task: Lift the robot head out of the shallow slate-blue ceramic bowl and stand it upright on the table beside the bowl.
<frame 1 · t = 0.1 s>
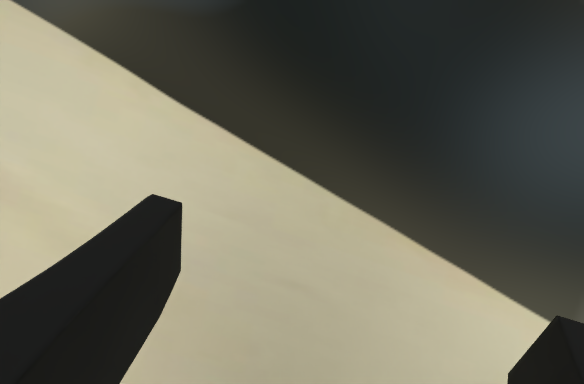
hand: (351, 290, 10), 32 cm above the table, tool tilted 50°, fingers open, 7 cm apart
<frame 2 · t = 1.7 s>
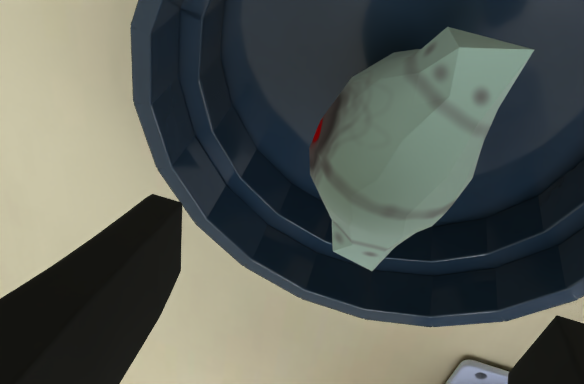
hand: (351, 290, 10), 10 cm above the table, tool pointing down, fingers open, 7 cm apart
bowl: (407, 73, 17), on the table
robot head: (406, 75, 17), resting on bowl
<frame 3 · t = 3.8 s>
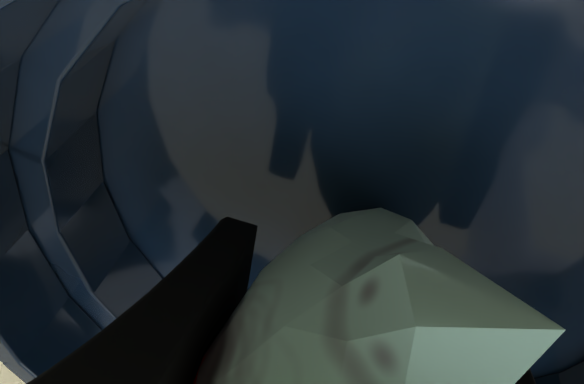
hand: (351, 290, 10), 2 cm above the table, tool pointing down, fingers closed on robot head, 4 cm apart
bowl: (366, 215, 12), on the table
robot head: (365, 218, 12), resting on bowl, touching gripper
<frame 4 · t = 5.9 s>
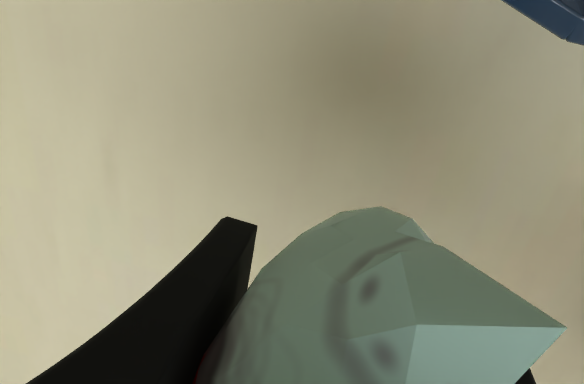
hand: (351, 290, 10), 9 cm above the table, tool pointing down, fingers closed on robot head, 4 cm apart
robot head: (365, 217, 12), point 7 cm above the table, touching gripper
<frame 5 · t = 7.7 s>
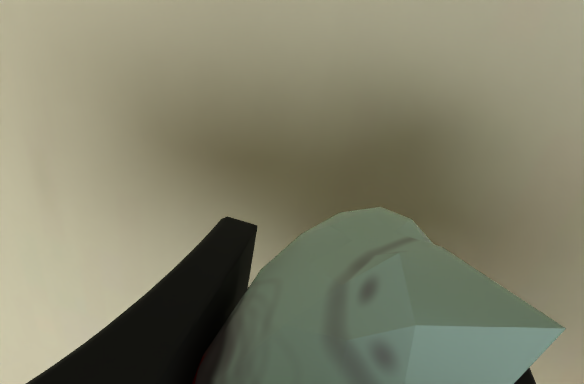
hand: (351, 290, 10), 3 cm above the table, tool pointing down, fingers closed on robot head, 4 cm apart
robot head: (365, 218, 12), point 1 cm above the table, touching gripper
when the fingers open (2 cm above the table, at t = 8.6 s): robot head stays where it is, on the table.
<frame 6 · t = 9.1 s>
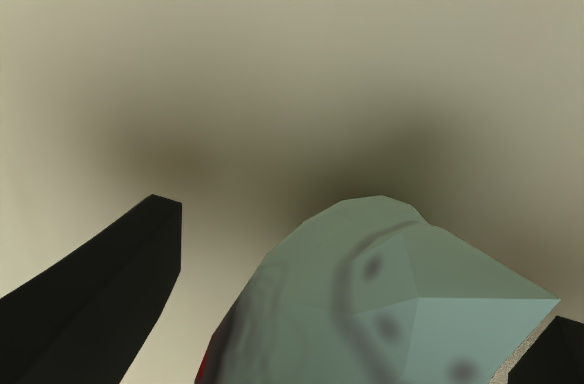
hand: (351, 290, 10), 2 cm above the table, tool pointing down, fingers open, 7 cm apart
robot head: (366, 206, 12), on the table
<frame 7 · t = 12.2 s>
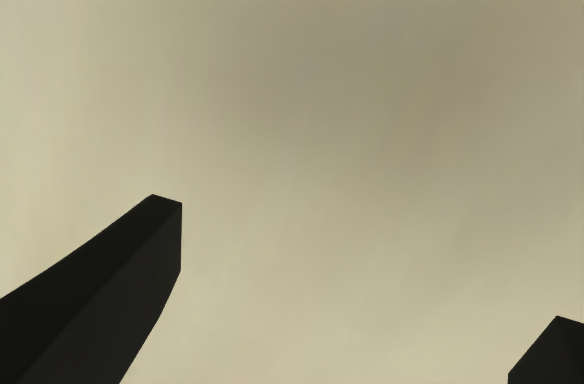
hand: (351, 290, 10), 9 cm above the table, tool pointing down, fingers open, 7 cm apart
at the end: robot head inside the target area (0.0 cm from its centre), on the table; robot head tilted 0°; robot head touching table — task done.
